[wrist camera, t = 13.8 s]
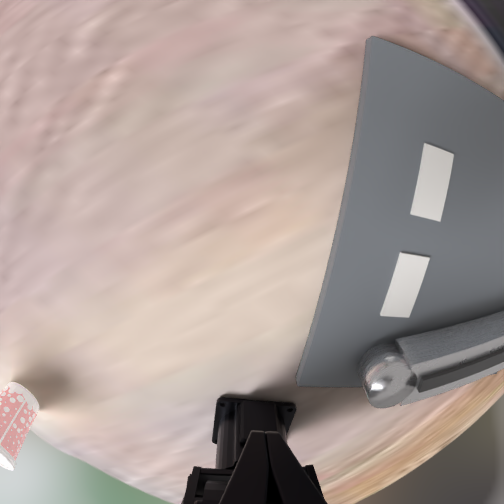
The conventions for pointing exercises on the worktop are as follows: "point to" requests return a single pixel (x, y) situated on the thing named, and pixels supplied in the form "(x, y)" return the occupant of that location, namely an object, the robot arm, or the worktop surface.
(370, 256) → the label board
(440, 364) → the bar
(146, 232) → the worktop surface
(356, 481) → the worktop surface
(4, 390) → the beverage cup
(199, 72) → the worktop surface
